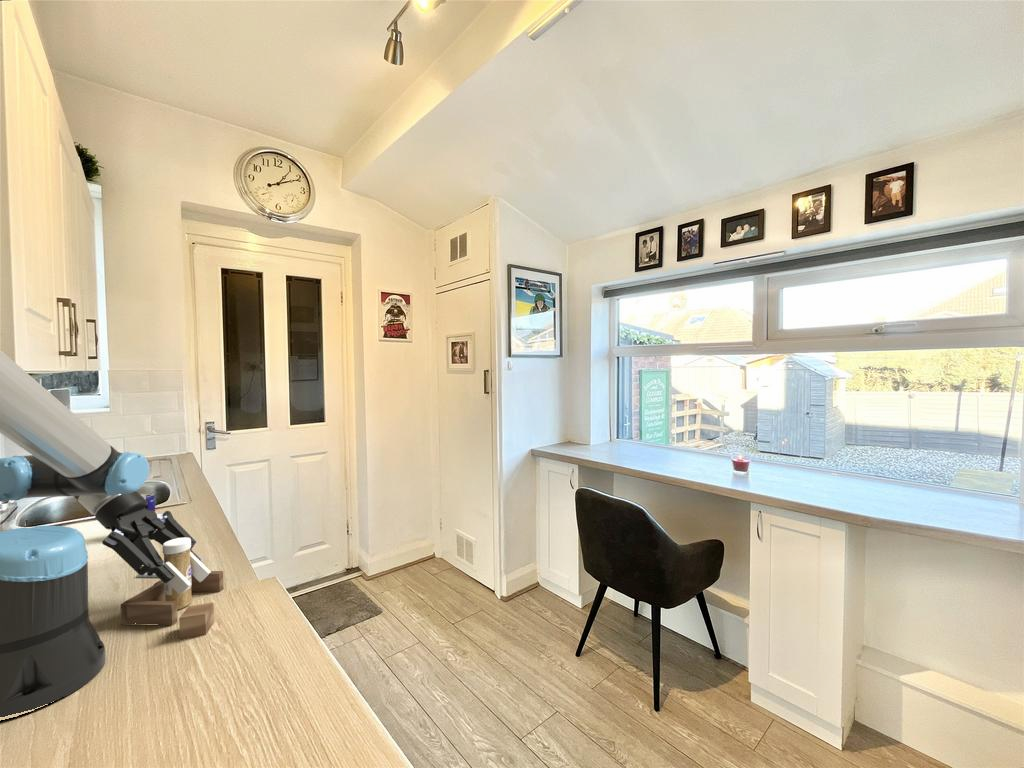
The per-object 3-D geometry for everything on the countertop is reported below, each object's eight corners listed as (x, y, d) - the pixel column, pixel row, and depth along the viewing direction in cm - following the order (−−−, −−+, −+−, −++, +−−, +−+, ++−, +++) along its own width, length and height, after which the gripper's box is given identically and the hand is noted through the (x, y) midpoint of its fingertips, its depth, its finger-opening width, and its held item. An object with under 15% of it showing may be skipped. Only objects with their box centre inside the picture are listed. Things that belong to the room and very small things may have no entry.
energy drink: (159, 534, 125) (157, 494, 124) (135, 541, 120) (134, 499, 120) (152, 531, 127) (150, 492, 127) (129, 537, 123) (127, 496, 123)
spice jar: (191, 607, 86) (189, 541, 85) (162, 614, 83) (160, 547, 83) (193, 597, 89) (191, 534, 89) (165, 604, 87) (164, 539, 86)
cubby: (172, 625, 79) (171, 604, 79) (121, 624, 80) (120, 604, 80) (223, 588, 93) (223, 571, 93) (179, 588, 93) (179, 570, 93)
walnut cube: (206, 635, 76) (205, 613, 76) (179, 639, 75) (179, 617, 75) (214, 622, 80) (213, 602, 80) (189, 626, 79) (188, 606, 79)
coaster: (174, 577, 98) (174, 575, 98) (137, 577, 98) (137, 574, 98) (203, 560, 107) (203, 558, 107) (169, 560, 107) (169, 557, 107)
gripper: (142, 502, 95) (215, 575, 95) (55, 532, 78) (145, 621, 77) (164, 479, 95) (237, 552, 94) (82, 503, 77) (171, 593, 77)
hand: (195, 583), depth 86 cm, fingers closed on spice jar, 4 cm apart
